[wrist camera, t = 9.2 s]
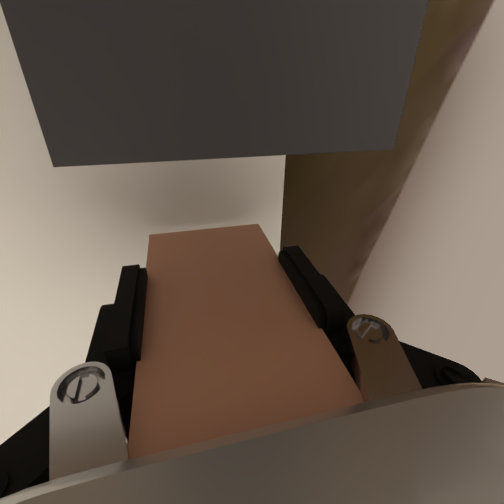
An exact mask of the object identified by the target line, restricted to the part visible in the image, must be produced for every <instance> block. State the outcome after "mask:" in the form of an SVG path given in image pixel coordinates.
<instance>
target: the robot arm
mask: <svg viewBox="0 0 504 504" xmlns="http://www.w3.org/2000/svg"><path fill="white" fill-rule="evenodd" d="M278 261H279V263H280V264H281V266H282V268H283V269H284V271H285V273H286V274H287V276H288V278H289V280H290V281H291V283H292V285H293V286H294V288H295V290H296V291H297V293H298V295H299V296H300V298H301V300H302V301H303V303H304V305H305V306H306V308H307V310H308V312H309V313H310V315H311V317H312V318H313V320H314V322H315V323H316V325H317V327H318V328H322V329H323V331H324V333H325V334H326V336H327V338H328V339H329V341H330V342H331V344H332V346H333V347H334V349H335V351H336V352H337V354H338V356H339V357H340V359H341V361H342V362H343V364H344V365H345V367H346V369H347V370H348V372H349V374H350V375H351V377H352V379H353V380H354V382H355V384H356V385H357V387H358V389H359V390H360V392H361V395H362V399H363V402H364V403H359V404H355V405H351V406H347V407H342V408H338V409H334V410H330V411H325V412H321V413H317V414H313V415H309V416H304V417H300V418H296V419H292V420H288V421H284V422H280V423H275V424H271V425H267V426H263V427H259V428H255V429H251V430H247V431H242V432H238V433H234V434H230V435H226V436H222V437H218V438H214V439H210V440H206V441H202V442H198V443H193V444H189V445H185V446H181V447H177V448H173V449H169V450H165V451H161V452H157V453H153V454H149V455H145V456H141V457H137V458H133V459H131V458H130V453H129V448H128V441H129V432H130V422H131V412H132V402H133V392H134V382H135V372H136V362H137V361H141V350H142V339H143V327H144V315H145V304H146V292H147V280H148V275H147V270H146V268H140V265H139V264H137V265H128V266H123V267H122V270H121V275H120V279H119V284H118V288H117V293H116V297H115V302H114V304H107V305H102V306H101V308H100V310H99V314H98V317H97V321H96V325H95V328H94V332H93V336H92V339H91V343H90V346H89V350H88V354H87V357H86V361H85V363H82V364H79V365H77V366H75V367H73V368H71V369H69V370H68V371H66V372H65V373H64V374H62V375H61V376H60V377H59V378H58V379H57V381H56V382H55V383H54V385H53V387H52V389H51V393H50V406H49V407H47V408H46V409H45V410H44V411H42V412H41V413H40V414H39V415H37V416H36V417H35V418H34V419H32V420H31V421H30V422H29V423H27V424H26V425H25V426H23V427H22V428H21V429H20V430H18V431H17V432H16V433H15V434H13V435H12V436H11V437H10V438H8V439H7V440H6V441H5V442H3V443H2V444H1V445H0V504H504V383H501V382H498V381H495V380H492V379H488V378H484V380H483V381H481V380H480V378H479V377H478V376H477V375H476V374H475V373H474V372H473V371H471V370H469V369H468V368H467V367H465V366H463V365H461V364H459V363H456V362H454V361H451V360H449V359H446V358H443V357H440V356H438V355H435V354H432V353H430V352H427V351H424V350H422V349H419V348H416V347H414V346H411V345H408V344H406V343H402V342H400V341H399V340H398V338H397V336H396V335H395V333H394V330H393V329H392V328H391V326H390V325H389V324H388V323H386V322H385V321H384V320H382V319H380V318H378V317H375V316H372V315H365V314H363V315H356V316H355V315H354V313H353V312H352V311H351V309H350V308H349V307H348V306H347V304H346V303H345V302H344V300H343V299H342V298H341V297H340V295H339V294H338V293H337V291H336V290H335V289H334V288H333V286H332V285H331V284H330V282H329V281H328V280H327V279H326V277H325V276H324V275H321V274H319V272H318V271H317V270H316V269H315V267H314V266H313V265H312V263H311V262H310V261H309V259H308V258H307V257H306V255H305V254H304V253H303V251H302V250H301V249H300V247H299V246H289V247H284V248H283V250H282V251H279V253H278Z"/></svg>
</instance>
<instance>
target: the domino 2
mask: <svg viewBox="0 0 504 504" xmlns="http://www.w3.org/2000/svg"><path fill="white" fill-rule="evenodd" d="M146 270H147V275H148V280H147V292H146V304H145V315H144V327H143V339H142V350H141V361H137V362H136V372H135V382H134V392H133V402H132V412H131V422H130V432H129V441H128V448H129V453H130V458H131V459H133V458H137V457H141V456H145V455H149V454H153V453H157V452H161V451H165V450H169V449H173V448H177V447H181V446H185V445H189V444H193V443H198V442H202V441H206V440H210V439H214V438H218V437H222V436H226V435H230V434H234V433H238V432H242V431H247V430H251V429H255V428H259V427H263V426H267V425H271V424H275V423H280V422H284V421H288V420H292V419H296V418H300V417H304V416H309V415H313V414H317V413H321V412H325V411H330V410H334V409H338V408H342V407H347V406H351V405H355V404H359V403H364V402H363V399H362V395H361V392H360V390H359V389H358V387H357V385H356V384H355V382H354V380H353V379H352V377H351V375H350V374H349V372H348V370H347V369H346V367H345V365H344V364H343V362H342V361H341V359H340V357H339V356H338V354H337V352H336V351H335V349H334V347H333V346H332V344H331V342H330V341H329V339H328V338H327V336H326V334H325V333H324V331H323V329H322V328H318V327H317V325H316V323H315V322H314V320H313V318H312V317H311V315H310V313H309V312H308V310H307V308H306V306H305V305H304V303H303V301H302V300H301V298H300V296H299V295H298V293H297V291H296V290H295V288H294V286H293V285H292V283H291V281H290V280H289V278H288V276H287V274H286V273H285V271H284V269H283V268H282V266H281V264H280V263H279V261H278V255H277V254H276V252H275V250H274V249H273V247H272V245H271V244H270V242H269V240H268V239H267V237H266V235H265V234H264V232H263V231H262V229H261V227H260V226H259V224H250V225H240V226H230V227H220V228H210V229H200V230H190V231H180V232H170V233H160V234H150V235H149V242H148V252H147V262H146Z"/></svg>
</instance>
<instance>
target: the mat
mask: <svg viewBox="0 0 504 504" xmlns="http://www.w3.org/2000/svg"><path fill="white" fill-rule="evenodd" d="M285 157H286V155H278V156H259V157H240V158H221V159H202V160H183V161H164V162H145V163H126V164H107V165H88V166H69V167H53V164H52V161H51V158H50V155H49V152H48V149H47V146H46V143H45V140H44V137H43V133H42V130H41V127H40V124H39V121H38V118H37V115H36V112H35V109H34V106H33V103H32V100H31V97H30V93H29V90H28V87H27V84H26V81H25V78H24V75H23V72H22V69H21V66H20V63H19V60H18V57H17V53H16V50H15V47H14V44H13V41H12V38H11V35H10V32H9V29H8V26H7V23H6V20H5V16H4V13H3V10H2V7H1V4H0V445H1V444H2V443H3V442H5V441H6V440H7V439H8V438H10V437H11V436H12V435H13V434H15V433H16V432H17V431H18V430H20V429H21V428H22V427H23V426H25V425H26V424H27V423H29V422H30V421H31V420H32V419H34V418H35V417H36V416H37V415H39V414H40V413H41V412H42V411H44V410H45V409H46V408H47V407H49V406H50V393H51V389H52V387H53V385H54V383H55V382H56V381H57V379H58V378H59V377H60V376H61V375H62V374H64V373H65V372H66V371H68V370H69V369H71V368H73V367H75V366H77V365H79V364H82V363H85V361H86V357H87V354H88V350H89V346H90V343H91V339H92V336H93V332H94V328H95V325H96V321H97V317H98V314H99V310H100V308H101V306H102V305H107V304H114V302H115V297H116V293H117V288H118V284H119V279H120V275H121V270H122V267H123V266H128V265H137V264H139V265H140V268H146V262H147V252H148V242H149V235H150V234H160V233H170V232H180V231H190V230H200V229H210V228H220V227H230V226H240V225H250V224H259V226H260V227H261V229H262V231H263V232H264V234H265V235H266V237H267V239H268V240H269V242H270V244H271V245H272V247H273V249H274V250H275V252H276V254H277V255H278V253H279V251H280V238H281V222H282V206H283V190H284V173H285Z"/></svg>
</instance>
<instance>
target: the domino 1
mask: <svg viewBox="0 0 504 504" xmlns="http://www.w3.org/2000/svg"><path fill="white" fill-rule="evenodd" d="M428 1H429V0H0V4H1V7H2V10H3V13H4V16H5V20H6V23H7V26H8V29H9V32H10V35H11V38H12V41H13V44H14V47H15V50H16V53H17V57H18V60H19V63H20V66H21V69H22V72H23V75H24V78H25V81H26V84H27V87H28V90H29V93H30V97H31V100H32V103H33V106H34V109H35V112H36V115H37V118H38V121H39V124H40V127H41V130H42V133H43V137H44V140H45V143H46V146H47V149H48V152H49V155H50V158H51V161H52V164H53V167H69V166H88V165H107V164H126V163H145V162H164V161H183V160H202V159H221V158H240V157H259V156H278V155H297V154H316V153H335V152H354V151H373V150H392V149H394V145H395V141H396V137H397V133H398V128H399V124H400V120H401V116H402V112H403V107H404V103H405V99H406V95H407V90H408V86H409V82H410V78H411V73H412V69H413V65H414V61H415V56H416V52H417V48H418V44H419V40H420V35H421V31H422V27H423V23H424V18H425V14H426V10H427V6H428Z"/></svg>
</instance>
